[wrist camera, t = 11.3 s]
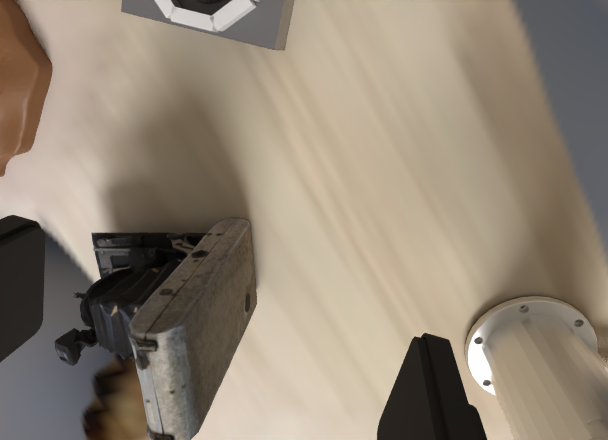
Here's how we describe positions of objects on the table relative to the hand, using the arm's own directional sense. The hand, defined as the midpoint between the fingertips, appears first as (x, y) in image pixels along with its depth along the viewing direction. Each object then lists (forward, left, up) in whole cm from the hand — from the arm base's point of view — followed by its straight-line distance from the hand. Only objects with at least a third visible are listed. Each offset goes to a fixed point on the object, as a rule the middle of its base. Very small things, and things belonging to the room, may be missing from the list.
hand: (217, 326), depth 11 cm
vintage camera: (+10, +17, -31) cm, 37 cm away
